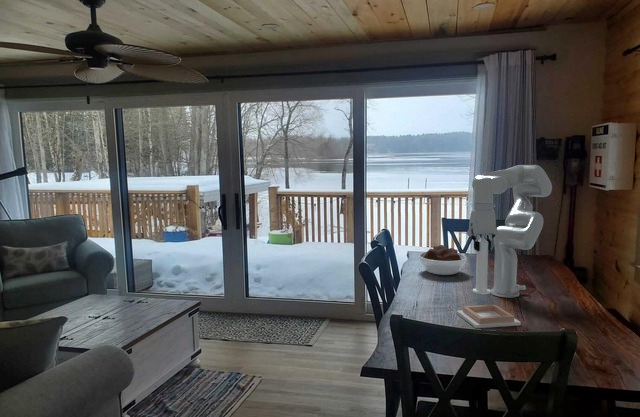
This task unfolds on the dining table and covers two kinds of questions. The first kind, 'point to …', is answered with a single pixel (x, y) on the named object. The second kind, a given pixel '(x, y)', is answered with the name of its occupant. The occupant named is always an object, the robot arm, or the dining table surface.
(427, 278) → the dining table surface
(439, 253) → the white bowl with food
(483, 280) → the candle
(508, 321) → the tray
